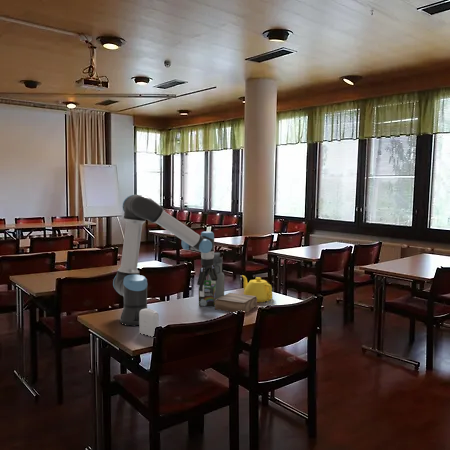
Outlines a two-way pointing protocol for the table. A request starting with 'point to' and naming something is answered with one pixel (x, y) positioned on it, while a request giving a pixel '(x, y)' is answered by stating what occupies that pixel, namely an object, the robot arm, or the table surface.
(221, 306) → the walnut stand
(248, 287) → the teapot
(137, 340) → the table surface
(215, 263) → the water bottle
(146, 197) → the robot arm
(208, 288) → the chalk box
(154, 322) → the photo printer
